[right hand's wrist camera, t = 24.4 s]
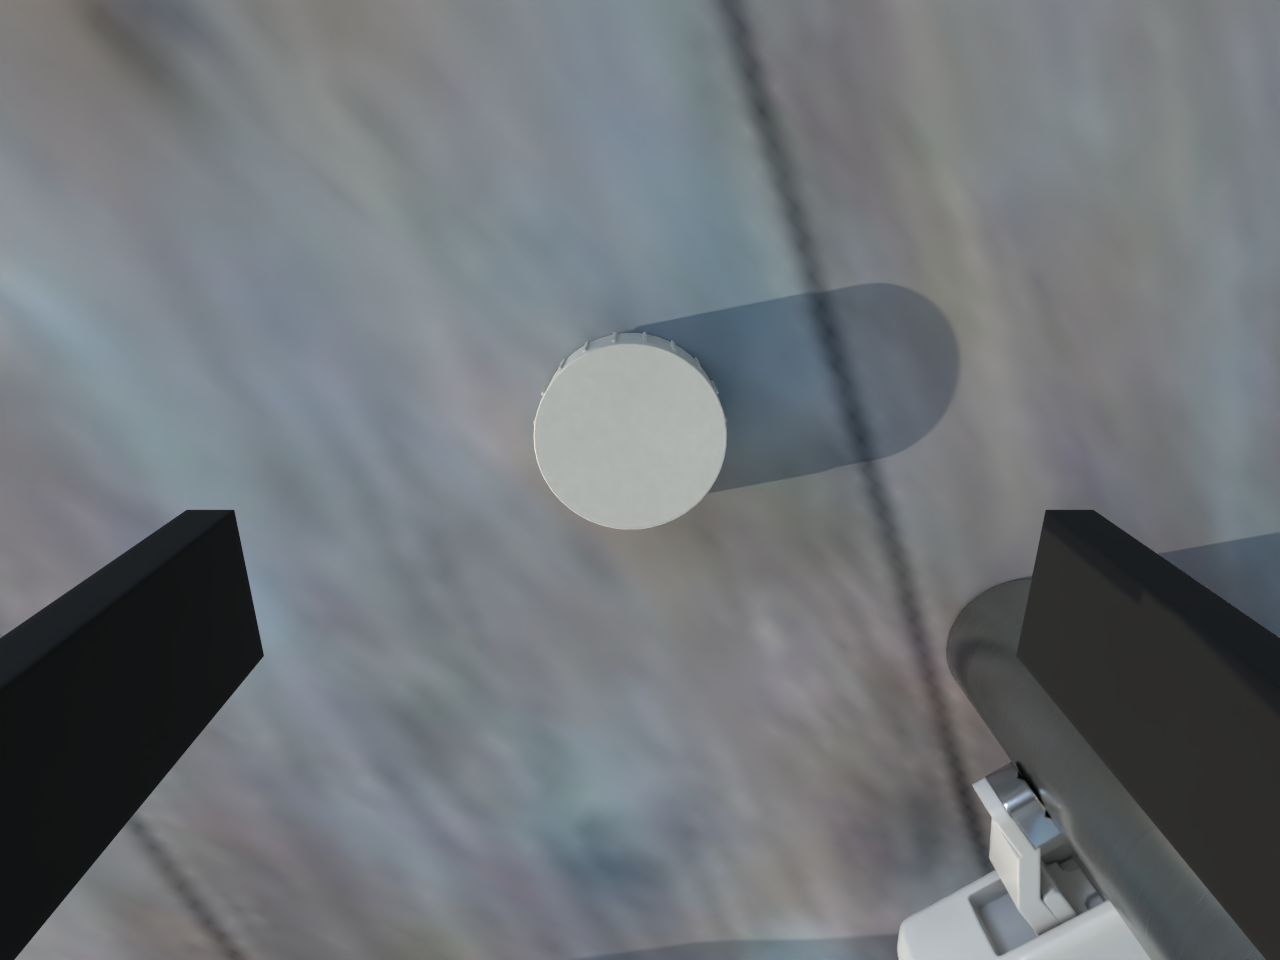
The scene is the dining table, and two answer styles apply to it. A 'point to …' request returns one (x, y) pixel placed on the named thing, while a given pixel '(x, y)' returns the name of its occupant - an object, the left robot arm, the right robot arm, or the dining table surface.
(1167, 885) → the jar
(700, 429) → the lid
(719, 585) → the dining table surface
